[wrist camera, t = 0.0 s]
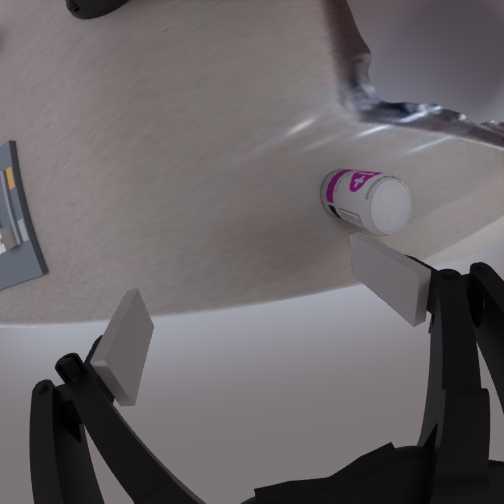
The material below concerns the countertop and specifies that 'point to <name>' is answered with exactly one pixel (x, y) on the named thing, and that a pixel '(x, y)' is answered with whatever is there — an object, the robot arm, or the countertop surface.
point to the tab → (7, 238)
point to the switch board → (16, 224)
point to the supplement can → (368, 200)
